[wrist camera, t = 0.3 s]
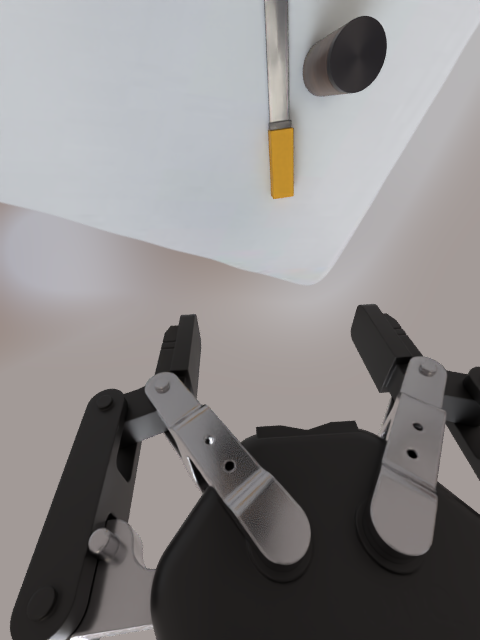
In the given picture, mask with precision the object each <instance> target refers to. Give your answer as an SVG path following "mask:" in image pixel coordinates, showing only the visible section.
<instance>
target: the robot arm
mask: <svg viewBox="0 0 480 640" xmlns="http://www.w3.org/2000/svg"><path fill="white" fill-rule="evenodd" d="M351 337H352V340H353V342H354V344H355V346H356V348H357V350H358V352H359V354H360V356H361V358H362V360H363V362H364V364H365V366H366V368H367V370H368V371H369V373H370V375H371V377H372V379H373V381H374V383H375V385H376V387H377V389H378V391H379V393H384V392H390V394H391V398H390V400H389V403H388V406H387V410H386V413H385V416H384V419H383V422H382V425H381V428H380V431H379V433H378V436H377V435H375V434H373V433H371V432H368V431H366V430H362V429H358V427H357V424H356V422H355V421H343V422H330V423H327V424H324V425H321V426H318V427H315V428H312V429H309V430H303V429H298V428H292V427H286V426H264V427H256V435H253V436H251V437H249V438H246V439H245V440H243V441H242V442H241V443H240V442H239V441H238V439H237V438H236V437H235V436H234V435H233V434H232V433H231V432H230V430H229V429H228V428H227V427H226V426H225V425H224V423H223V422H222V421H221V420H220V419H219V418H218V417H217V415H216V414H215V413H214V412H213V411H212V410H211V409H210V407H208V406H207V405H201V404H200V403H199V401H198V400H197V389H198V377H199V366H200V354H201V338H200V332H199V327H198V321H197V316H196V314H191V315H181V316H180V321H179V325H178V326H170V328H169V329H168V330H167V331H166V332H165V335H164V339H163V343H162V347H161V351H160V355H159V360H158V364H157V368H156V372H155V375H154V376H153V377H151V378H150V379H149V380H148V382H147V383H146V385H145V386H144V387H142V388H140V389H138V390H135V391H132V392H129V393H126V394H123V393H122V392H121V391H119V390H117V389H107V390H104V391H101V392H99V393H98V394H96V395H95V396H94V397H93V398H92V399H91V400H90V402H89V403H88V405H87V408H86V410H85V413H84V416H83V419H82V421H81V424H80V427H79V430H78V432H77V435H76V438H75V441H74V443H73V446H72V449H71V452H70V455H69V457H68V460H67V463H66V465H65V468H64V471H63V474H62V476H61V479H60V482H59V485H58V488H57V490H56V493H55V496H54V499H53V501H52V504H51V507H50V510H49V513H48V515H47V518H46V521H45V523H44V526H43V529H42V532H41V535H40V537H39V540H38V543H37V545H36V548H35V551H34V554H33V556H32V559H31V562H30V565H29V568H28V570H27V573H26V576H25V578H24V581H23V584H22V587H21V589H20V592H19V595H18V598H17V601H16V603H15V606H14V609H13V612H12V616H11V621H10V631H11V636H12V639H13V640H99V639H100V638H101V637H106V636H112V635H118V634H124V633H130V632H137V631H143V630H149V629H154V632H155V636H156V639H157V640H480V514H478V513H477V512H476V511H474V510H473V509H472V508H471V507H469V506H468V505H467V504H466V503H464V502H463V501H462V500H460V499H459V498H458V497H457V496H455V495H454V494H453V493H452V492H450V491H449V490H448V489H446V488H445V487H444V486H443V485H441V484H440V483H439V482H438V481H437V478H438V471H439V464H440V457H441V450H442V443H443V436H444V429H445V424H446V425H447V427H448V428H449V430H450V432H451V434H452V435H453V437H454V438H455V440H456V442H457V444H458V445H459V447H460V449H461V450H462V452H463V454H464V455H465V457H466V459H467V460H468V462H469V464H470V465H471V467H472V468H473V470H474V472H475V474H476V475H477V477H478V479H479V480H480V367H475V368H472V369H471V370H470V371H469V373H468V374H463V373H457V372H451V371H447V370H446V369H445V368H444V367H443V366H442V365H441V364H440V363H438V362H437V361H435V360H433V359H431V358H428V357H423V355H422V354H421V353H420V351H419V350H418V349H417V347H416V346H415V345H414V344H413V342H412V341H411V340H410V339H409V337H408V336H407V335H406V333H405V331H404V330H403V329H401V326H400V325H399V324H398V322H397V321H396V320H395V319H394V318H392V317H391V316H389V315H388V314H383V313H382V312H381V311H380V309H379V308H378V306H377V305H376V304H366V305H359V306H358V307H357V310H356V313H355V317H354V320H353V324H352V327H351ZM161 433H163V434H164V435H165V437H166V438H167V440H168V441H169V443H170V444H171V446H172V447H173V449H174V450H175V452H176V453H177V455H178V456H179V458H180V459H181V461H182V462H183V464H184V466H185V468H186V470H187V472H188V473H189V475H190V477H191V478H192V480H193V482H194V483H195V485H196V486H197V488H198V489H199V491H200V492H201V494H202V496H201V498H200V499H199V501H198V502H197V504H196V505H195V507H194V508H193V509H192V511H191V513H190V514H189V515H188V517H187V518H186V520H185V522H184V523H183V524H182V526H181V527H180V529H179V531H178V532H177V533H176V535H175V536H174V538H173V539H172V541H171V542H170V544H169V545H168V547H167V548H166V550H165V551H164V553H163V555H162V557H161V559H160V561H159V563H158V565H157V568H156V569H147V568H146V566H145V564H144V561H143V551H142V550H143V547H142V546H143V545H142V540H141V538H140V536H139V535H138V534H137V532H136V531H135V530H134V529H133V528H132V527H131V526H130V525H129V524H128V519H129V513H130V507H131V502H132V495H133V490H134V484H135V478H136V472H137V466H138V460H139V455H140V449H141V443H142V440H144V439H148V438H150V437H153V436H155V435H158V434H161Z"/></svg>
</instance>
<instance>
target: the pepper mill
mask: <svg viewBox="0 0 480 640" xmlns="http://www.w3.org/2000/svg"><path fill="white" fill-rule="evenodd" d="M386 49H387V41H386V35H385V32H384V29H383V27H382V25H381V24H380V23H379V22H378V21H377V20H376V19H374V18H372V17H369V16H361V17H358V18H355V19H353V20H352V21H350V22H349V23H347V24H345V25H344V26H342V27H341V28H339V29H338V30H336V31H334V32H333V33H331V34H330V35H328V36H327V37H325V38H323V39H322V40H320V41H319V42H317V43H316V44H315V45H314V46H313V47H312V48H311V49H310V51H309V52H308V54H307V56H306V58H305V61H304V65H303V80H304V83H305V86H306V88H307V89H308V91H309V92H310V93H312V94H313V95H315V96H330V95H339V94H348V93H356V92H359V91H362V90H363V89H365V88H366V87H368V86H369V85H370V84H371V83H372V82H373V81H374V80H375V78H376V77H377V76H378V74H379V72H380V70H381V68H382V66H383V63H384V60H385V56H386Z"/></svg>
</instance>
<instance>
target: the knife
mask: <svg viewBox="0 0 480 640" xmlns="http://www.w3.org/2000/svg"><path fill="white" fill-rule="evenodd" d="M264 7H265V30H266V53H267V75H268V98H269V121H270V123H269V130H268V136H269V157H270V179H271V196H272V197H273V199H277V198H284V197H291V196H294V181H293V128H292V127H291V120H289V90H288V0H264Z"/></svg>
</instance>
